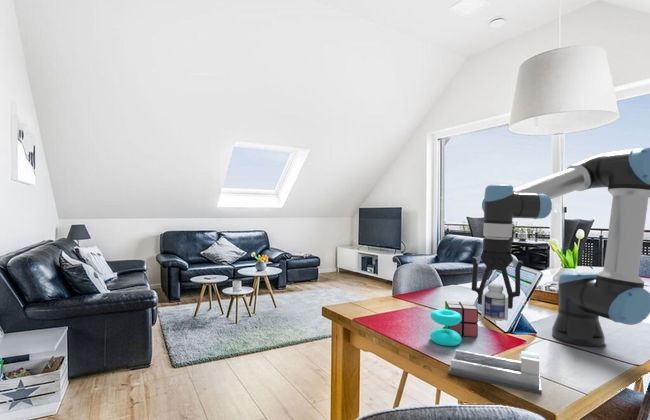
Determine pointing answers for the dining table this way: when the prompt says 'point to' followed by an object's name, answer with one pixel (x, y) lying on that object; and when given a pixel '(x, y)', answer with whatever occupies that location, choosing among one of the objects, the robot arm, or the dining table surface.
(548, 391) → the dining table surface
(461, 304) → the puzzle cube
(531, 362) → the block
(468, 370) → the rail plate
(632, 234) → the robot arm
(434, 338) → the donuts
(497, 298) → the pill bottle
